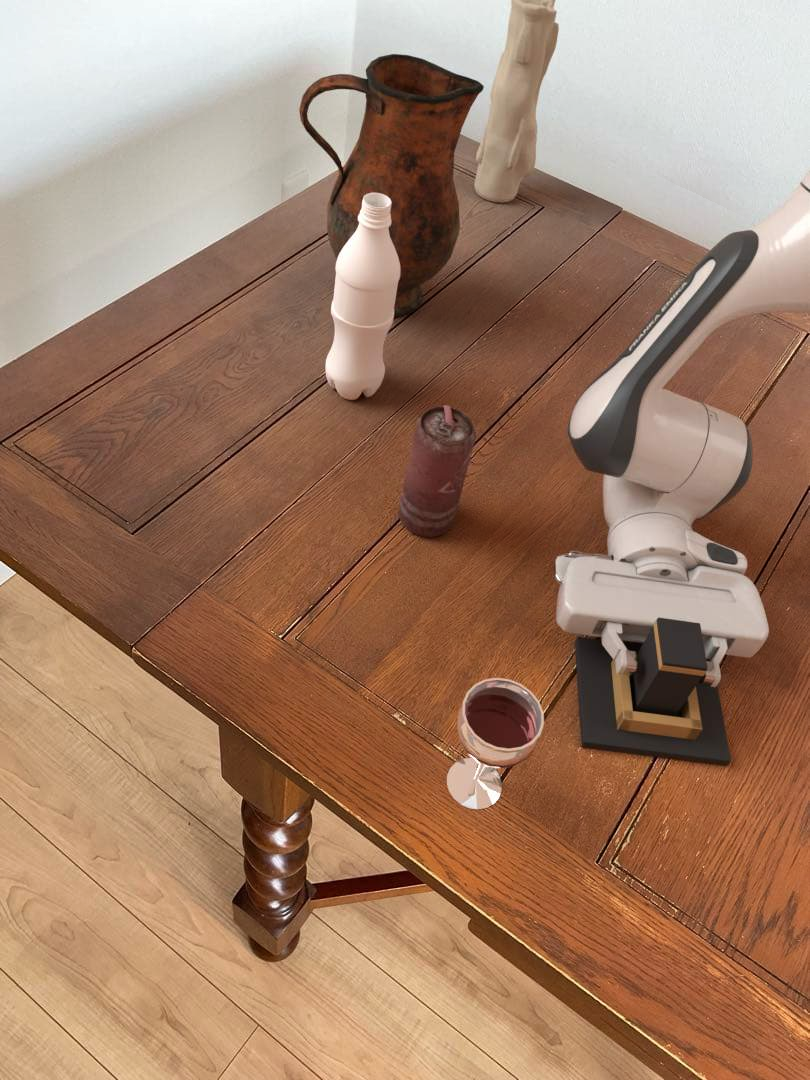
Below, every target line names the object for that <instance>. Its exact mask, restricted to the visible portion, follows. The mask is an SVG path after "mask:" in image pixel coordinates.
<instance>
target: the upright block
mask: <svg viewBox="0 0 810 1080" xmlns="http://www.w3.org/2000/svg"><path fill="white" fill-rule="evenodd" d="M641 645H642V646H641V648H640V650H639V652H638V653H637V655H636V656H637V658H636V661H637V669H636V671H635V672H634V675H633V676H630V675H629V678H630V688H631V697H632V707H633V711H636V712H643V713H651V714H658V715H666V716H673V717H675V716H676V714H677V713H678V711H679V710H680V709H681V707H682V706H683V704H684V703H685V701H686V700H687V698H688V697H689V695H690V694H691V692H692V691H693V689H694V688H695V687H696V685H697V684H698V682H699V681H700V679H701V678H702V676H704V675H705V673H706V670H707V669H708V667H707V661H706V656H705V650H704V644H703V638H702V632H701V626H700V623H694V622H687V621H680V620H673V619H666V618H659V617H658V618H657V620H656V621H655V622H654V624H653V627H652V629H651V631H650V632H649V634H648V636H647V638H646V639H645V641H644V643H642V644H641Z"/></svg>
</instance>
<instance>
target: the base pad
mask: <svg viewBox="0 0 810 1080" xmlns="http://www.w3.org/2000/svg"><path fill="white" fill-rule="evenodd" d="M623 644H624V645H625V647H626V648H627V650H629V651H635V652H636V655H637V653H638V652H639V650H640V648H641V646H642V645H643V644H636V643H630V642H629V643H628V642H623ZM574 651H575V653H574V654H575V668H576V683H577V684H576V685H577V698H578V699H577V701H578V713H579V731H580V746H581V748H585V749H586V748H588V749H595V750H601V751H602V750H603V751H610V752H617V753H626V754H633V755H640V756H649V757H656V758H657V757H658V758H663V759H670V760H677V761H686V762H694V763H702V764H710V765H716V766H717V765H718V766H724V767H725V766H726V767H727V766H728V765H729V764H730V763H731V760H732V759H731V754H730V748H729V743H728V737H727V732H726V731H727V730H726V726H725V719H724V715H723V709H722V708H723V707H722V702H721V698H720V691H719V684H718V685H717V686H716V687H709V686H703V685H699V682H698V684H697V685H696V687H695V688H694V689H693V691H692V692H691V694H690V695H689V697H688V698H687V700H686V701H685V703H684V704H683V706H682V707H681V709H680V710H679V711H678V713H677V714H676V716H675V717H673V716H666V715H658V714H651V713H643V712H636V711H633V707H632V697H631V688H630V678H629V675H621V674H617V673H616V664H615V660H614V659H613V658H612V657H611V655H610V654H609V653H608V652H607V650H606V649H605V648H604V646H603V645H602V638H601V639H599V638H593V637H587V636H586V637H585V636H576V638H575V641H574ZM711 660H712V659H706V661H709V662H711Z"/></svg>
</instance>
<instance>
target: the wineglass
mask: <svg viewBox="0 0 810 1080" xmlns="http://www.w3.org/2000/svg"><path fill="white" fill-rule="evenodd" d="M544 714H545V713H544V710H543V708H542V706H541V702H540V701H539V699H538V698H537V697H536V695H534V693H533V692H532V691H531V690H529V689H528V688H527V687H526V686H525V685H523V684H521V683H519V682H517V681H514V680H512V679H510V678H501V677H493V678H485V679H483V680H481V681H479V682H477V683H475V684H473V685H472V687H470V689H469V690H468V691H467V692H466V694H465V696H464V697H463V700H462V704H461V705H460V708H459V710H458V713H457V716H456V734H457V736H458V740H459V744H460V746H461V748H463V750H464V751H465V753H466V754H467V756H468V757H465V758H461V759H459V760H458V761H456V762H454V764H452V766H451V767H450V768H449V770H448V773H447V775H446V786H447V789H448V792H449V794H450V795H451V797H452V798H453V800H455V801H456V802H457V803H458V804H459V805H461V806H463V807H464V808H467V809H472V810H483V809H487V808H489V807H491V806H492V805H494V804H496V802H497V801H498V800H499V798H500V797H501V794H502V792H503V791H502V789H503V788H502V787H503V786H502V780H501V777H500V774H499V773H498V771H497V770H496V769H506V768H511V767H514V766H516V765H519V764H521V763H522V762H524V761H526V760H527V759H528V758H529V757H530V755H531V754H532V753H533V752H534V751H535V749H536V746H537V743H538V741H539V737H540V736H541V734H542V732H543V728H544V726H545V715H544Z"/></svg>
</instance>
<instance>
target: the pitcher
mask: <svg viewBox="0 0 810 1080" xmlns="http://www.w3.org/2000/svg"><path fill="white" fill-rule="evenodd" d="M365 74H366V75H365V76H366V78H365V77H361V76H357V75H353V74H350V73H348V74H347V73H345V74H344V73H336V74H331V75H326V76H323V77H320V78H319V79H317V80H316V81H314V82H312V84H310V86H308V87H307V89H306V90H305V91H304V93H303V94H302V95H301V102H300V105H299V108H298V109H299V118H300V123H301V124H302V126H303V128H304V130H305V131H306V133H307V134H308V135H309V136H310V137H311V138H312V139H313V140H314V142H316V144H318V146H319V147H320V148H321V149H323V150H324V152H325V153H326V154H327V155H328V156H329V158H330V159H331V160H332V161H333V162H334V164H335V165H336V167H337V169H338V176H337V178H336V180H335V182H334V185H333V187H332V190H331V193H330V196H329V200H328V203H327V206H326V207H327V208H326V209H327V211H326V213H327V217H326V219H327V221H326V226H327V227H326V230H327V239H328V241H329V244H330V247H331V249H332V252H333V254H334V257H335V260H336V261H337V258H338V256H339V253H340V252H341V250H342V248H343V247H344V246H345V244H346V243H347V242H348V240H349V239H350V238H351V237H352V235H353V234H354V233H355V231H356V230H357V228H358V225H359V221H358V215H359V214H360V210H361V208H362V200H363V198H364V196H365V195H366V194H369V193H380V194H384V195H386V196H387V197H389V198H390V200H391V202H392V204H391V211H390V214H391V225H390V227H389V235H390V238H391V240H392V243H393V245H394V247H395V250H396V252H397V255H398V258H399V262H400V279H399V281H398V286H397V292H396V299H395V305H394V318H398V317H403V316H406V315H409V314H411V313H413V312H415V311H416V310H418V309H419V308H420V307H421V306H422V303H423V301H424V294H423V292H422V289H421V287H420V286H421V285H423V284H425V283H427V282H428V281H429V282H430V280H432V279H433V278H434V277H435V276H436V275H437V274H438V273H439V272H440V271H441V270H442V269H443V268H444V267H446V265H447V264H448V262H449V261H450V259H451V257H452V255H453V252H454V249H455V247H456V243H457V241H458V237H459V235H460V228H461V224H460V222H461V221H460V219H461V218H460V202H459V198H458V194H457V189H456V185H455V181H454V168H455V152H456V149H457V145H458V142H459V139H460V136H461V133H462V129H463V126H464V124H465V122H466V119H467V118H468V115H469V113H470V110H471V108H472V106H473V104H474V103H475V101H476V100H477V98H478V97H479V94H481V93H482V92H483V90H484V87H485V86H484V84H482V83H481V82H480V81H478V80H477V79H474V78H471V77H468V76H465V75H461V74H458V73H455V72H452V71H451V70H448V69H446V68H444V67H442V66H440V65H437V64H436V63H434V62H431V61H428V60H426V59H423V58H421V57H417V56H413V55H410V54H399V53H391V54H387V55H381V56H378V57H376V58H375V59H373V60H371V61H370V63H369V64H368V65H367V67H366V68H365ZM336 90H349V91H356V92H359V93H362V94H365V100H366V101H365V107H364V108H365V109H364V115H363V119H362V122H361V127H360V131H359V136H358V139H357V141H356V143H355V145H354V147H353V149H352V151H351V153H350V155H349V157H348V159H347V160H346V162H345V163H344V165H342V161H341V159H340V157H339V154H338V153H337V152H336V150H335V149H334V148H333V147H332V146H331V144H330V143H329V142H328V141H327V140H326V139H325V138H324V137H323V136H322V135H321V134H320V133H319V132H318V131H317V130H316V128H315V127H314V126H313V125H312V123H310V121H309V117H308V113H309V112H308V111H309V106H310V105H311V103H312V102H313V101H314V99H315V98H316V97H318V96H319V95H321V94H323V93H325V92H330V91H336Z"/></svg>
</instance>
